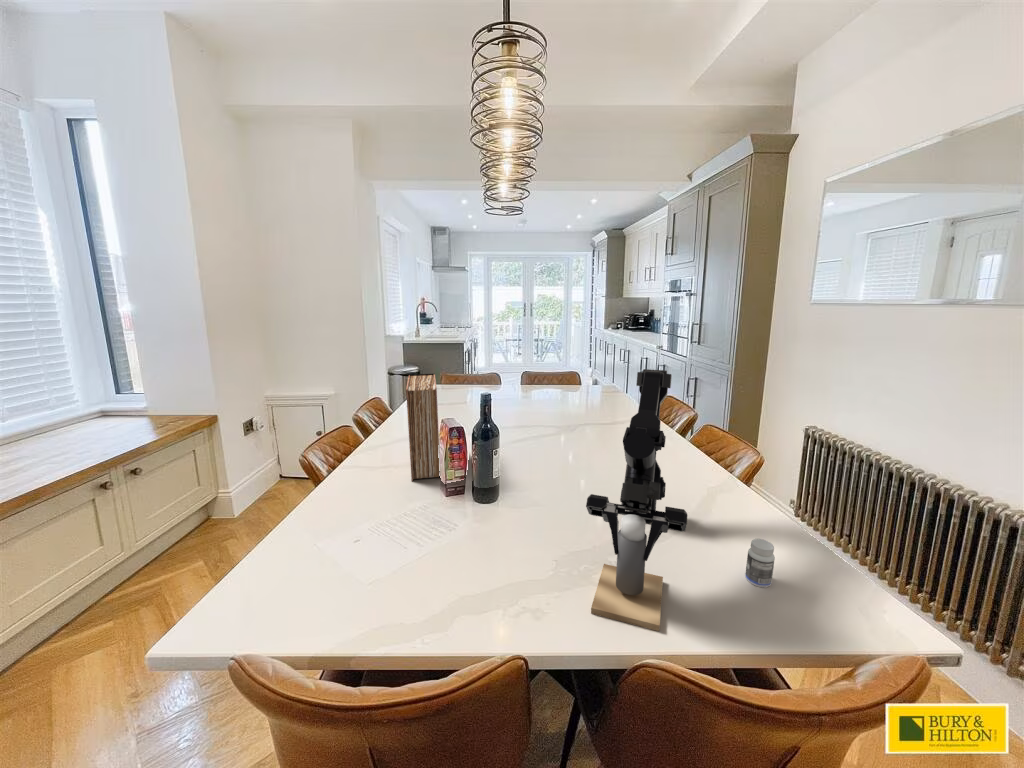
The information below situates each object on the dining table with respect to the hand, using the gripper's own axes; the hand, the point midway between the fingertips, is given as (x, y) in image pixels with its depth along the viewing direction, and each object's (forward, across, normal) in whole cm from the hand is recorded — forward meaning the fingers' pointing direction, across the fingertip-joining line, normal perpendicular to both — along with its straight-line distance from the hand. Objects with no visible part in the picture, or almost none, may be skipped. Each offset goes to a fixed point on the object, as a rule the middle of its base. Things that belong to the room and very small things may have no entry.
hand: (630, 557), depth 80 cm
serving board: (+6, 0, +8) cm, 9 cm away
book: (-24, -73, +38) cm, 86 cm away
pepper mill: (+4, 0, +6) cm, 7 cm away
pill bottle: (-4, +24, +18) cm, 31 cm away
